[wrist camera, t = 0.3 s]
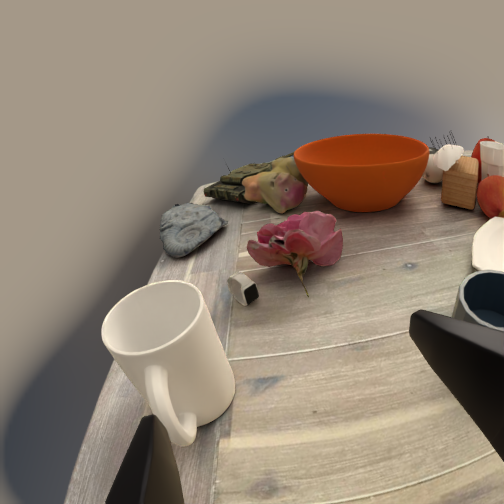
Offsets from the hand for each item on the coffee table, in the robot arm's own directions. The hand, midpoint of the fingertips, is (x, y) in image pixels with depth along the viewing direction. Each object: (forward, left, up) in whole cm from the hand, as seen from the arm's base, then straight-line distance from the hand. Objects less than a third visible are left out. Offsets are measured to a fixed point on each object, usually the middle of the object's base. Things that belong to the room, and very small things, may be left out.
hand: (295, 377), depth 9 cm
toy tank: (+65, -16, -15) cm, 68 cm away
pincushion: (+30, -41, -8) cm, 52 cm away
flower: (+27, -9, -15) cm, 32 cm away
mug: (+11, +7, -15) cm, 20 cm away
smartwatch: (+24, -1, -15) cm, 28 cm away
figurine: (+38, -50, -11) cm, 64 cm away
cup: (+26, -50, -15) cm, 59 cm away
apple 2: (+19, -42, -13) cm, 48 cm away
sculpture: (+54, -14, -12) cm, 57 cm away
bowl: (+42, -29, -15) cm, 53 cm away
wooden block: (+27, -40, -11) cm, 50 cm away
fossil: (+43, +3, -18) cm, 47 cm away
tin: (+5, -21, -15) cm, 26 cm away
